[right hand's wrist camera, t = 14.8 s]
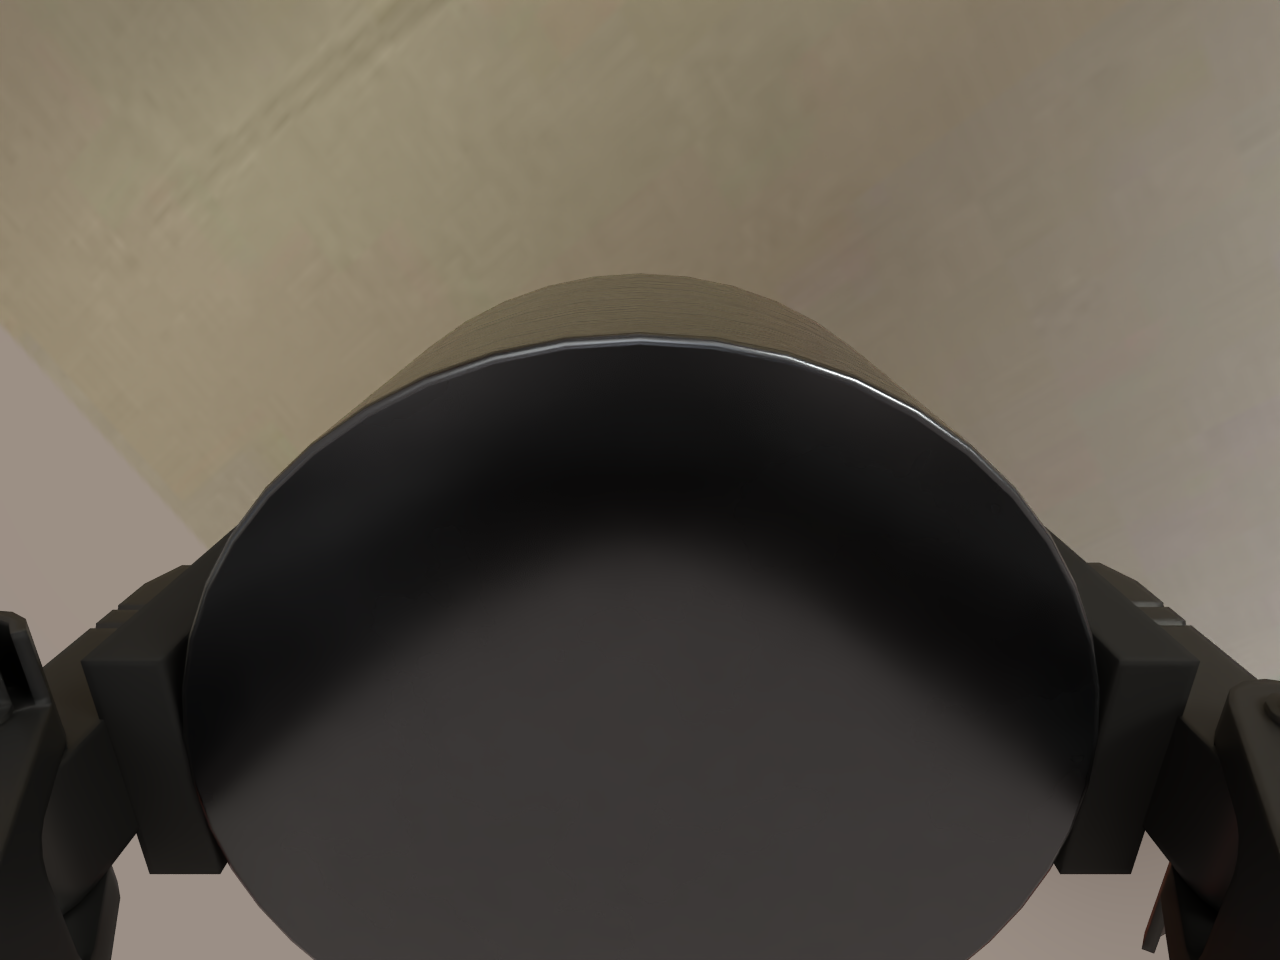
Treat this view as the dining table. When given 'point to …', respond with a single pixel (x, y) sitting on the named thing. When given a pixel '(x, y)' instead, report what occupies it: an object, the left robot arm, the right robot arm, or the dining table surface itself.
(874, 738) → the canister lid
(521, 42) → the dining table surface
